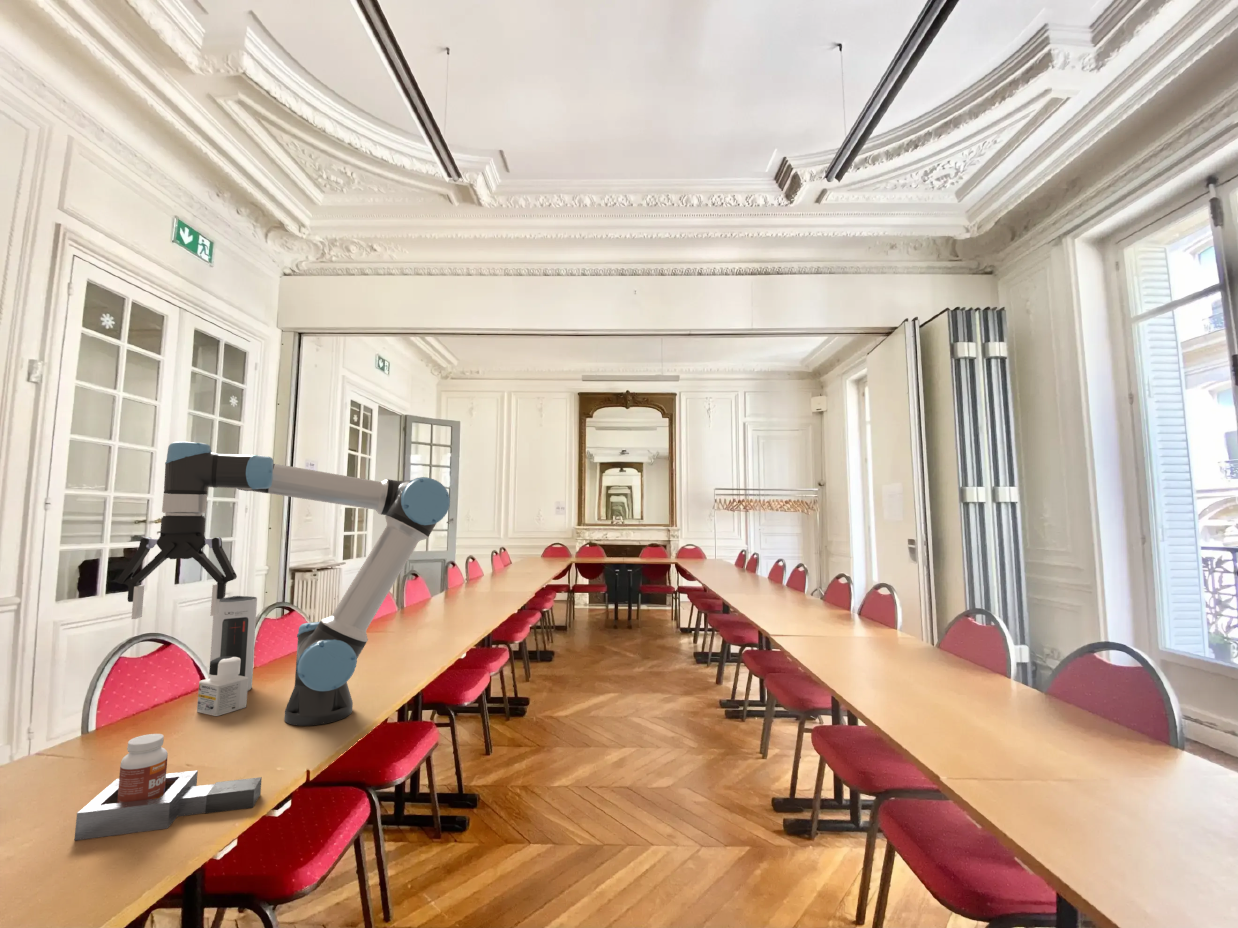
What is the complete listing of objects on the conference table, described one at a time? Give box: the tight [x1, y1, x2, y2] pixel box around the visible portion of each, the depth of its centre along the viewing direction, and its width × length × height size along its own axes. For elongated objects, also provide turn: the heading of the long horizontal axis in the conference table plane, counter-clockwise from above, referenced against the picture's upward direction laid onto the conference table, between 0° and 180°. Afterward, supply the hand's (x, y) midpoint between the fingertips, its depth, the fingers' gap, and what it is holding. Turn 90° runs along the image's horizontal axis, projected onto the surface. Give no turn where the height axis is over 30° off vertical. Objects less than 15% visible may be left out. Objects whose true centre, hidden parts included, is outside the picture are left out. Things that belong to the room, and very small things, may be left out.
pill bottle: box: [117, 733, 169, 803], centre depth 96 cm, size 6×6×11 cm
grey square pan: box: [73, 770, 262, 841], centre depth 98 cm, size 23×12×4 cm, turn 109°
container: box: [196, 656, 248, 717], centre depth 147 cm, size 8×8×13 cm
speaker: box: [208, 595, 258, 692], centre depth 163 cm, size 11×10×26 cm
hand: (176, 616), depth 120 cm, fingers open, 13 cm apart
